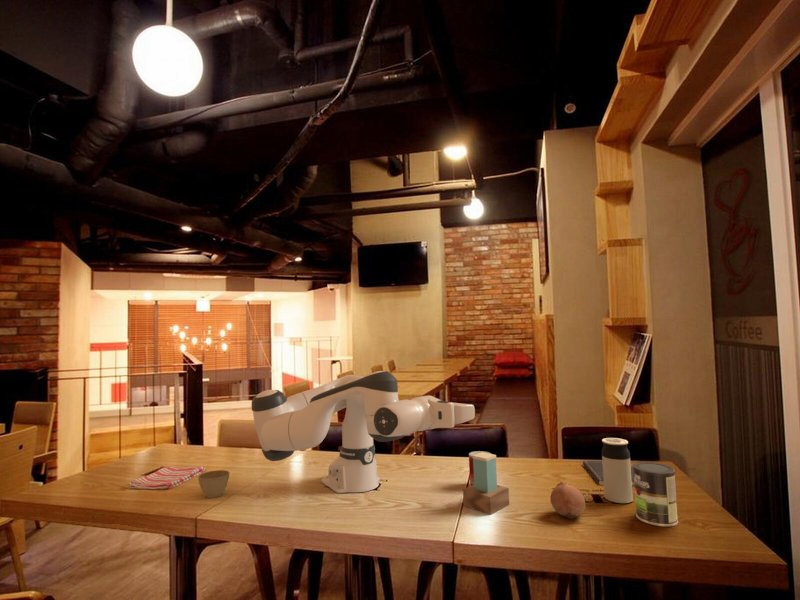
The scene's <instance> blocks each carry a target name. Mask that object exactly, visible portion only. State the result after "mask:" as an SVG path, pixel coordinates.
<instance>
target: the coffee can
mask: <svg viewBox="0 0 800 600" xmlns="http://www.w3.org/2000/svg"><path fill="white" fill-rule="evenodd" d="M632 467H633V469H634V484H635V486H634V496H635V497H634V498H635V516H636V518H637V519H638V520H640V521H641V522H643V523H645V524H648V525H651V526H656V527H661V528H662V527H664V528H665V527H666V528H667V527H668V528H669V527H675V526H677V525H678V524H679V520H678V508H677V507H678V505H677V492H676V491H677V490H676V489H677V488H676V476H675V473H676V470H675V468H674V467H672V466H670V465H667V464H663V463H658V462H650V461H649V462H647V461H640V462H635V463H633V464H632Z"/></svg>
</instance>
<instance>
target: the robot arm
mask: <svg viewBox="0 0 800 600" xmlns="http://www.w3.org/2000/svg"><path fill="white" fill-rule="evenodd" d="M398 388H399V385H398V379H397V378H396V377H395V376H394V375H393V374H392V373H391V372H390V371H388V370H378V371H377V370H376V371H374V372H371V373H369V374H367V375H366V376H364V375H363V376H362V375H357V374H347V375H344V376H340V377H339V378H336V379H334V380H332V381H329V382H328V383H325V384H323V385H319V386H316V387H313V388H311V389H308V390H305V391H301V392H298V393H294V394H293V395H290V396H287V395H285V393H284V392H283V391H281V390H279V389H267V390H263V391H261V392H259V393H258V394H256V395H255V396H253V398H252V400H251V411H252V415H253V422H254V423H253V424H254V428H255V432H256V434H257V437H258V441H259V444H260V446H261V452H262V454H263V456H264V457H265V459H267V460H269V461H271V462H277V461H278V462H279V461H283V460H285V459H288V458H289V457H291V456H292V455H293V454H294V453H295V451H303V450H308V449H313V448H315V447H318V446H319V445H320V444H321V443H322V442H323V440H324V439H325V438H326V436H327V434H328V433H329V430H330V427H331V422H332V421H331V420H332V416H333V415H335V414H336V413H338V412H339V411H341V410H343V409H346V410H345V415H344V419H343V422H342V424H341V436H342V437H341V439H342V441H341V442H342V445H341V446H338V449H337V450H338V451H339V453H338V454H339V455H338V457H336V458H335V459H334V460H333V461H332V462H331V463H330V464H329V466H328V468H327V469H328V470H327V476H324V477H323V478H322V479H321V483H322V484H323V485H325V486H327V487H328V488H329V489H331V490H333V491H334V492H335V493H337V494H342V493H363V492H368V491H372V490H374V489H376V488H378V487H379V485H380V483H379V482H380V480H381V479H380V476H379V475H378V467H377V465H378V464H377V460H376V457H375V455H376V451H375V450H376V448H375V446H376V445H375V443H374V440H375V441H376V442H382V443H384V442H392V441H396V440H399V439H403V438H404V437H405V436H408V435H412V434H414V433H416V432H423V431H427V430H433V429H452V428H454V427H455V425H458V424H459V425H460V424H463V423H466V422H469V421H472V420H474V419H475V417H476V416H475V414H476V409H475V406H474V404H470V403H460V402H459V403H458V402H453V401H451V402H450V401H446V400H443V399H440V398H437V397H434V396H433V395H424V396H423V395H422V396H417V397H413V398H411V399H401V400H400V399H399V389H398Z"/></svg>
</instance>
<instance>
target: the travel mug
mask: <svg viewBox="0 0 800 600" xmlns="http://www.w3.org/2000/svg"><path fill="white" fill-rule="evenodd" d="M601 442H602V443H603V444H602V445H603V447H602V449H601V459H602V460H601V461H602V464H603V479H604V485H603V491H604V492H603V494H604V498H605V499H606V500H608V501H610V502H612V503H615V504H629V503H631V502H633V500H634V497H633V486H632V479H631V466H632V465H631V452H630V450H629V449H628V444H629V441H628V440H627V439H625V438H624V439H623V438H618V437H606V438H602V439H601Z"/></svg>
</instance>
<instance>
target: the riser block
mask: <svg viewBox="0 0 800 600" xmlns="http://www.w3.org/2000/svg"><path fill="white" fill-rule="evenodd" d="M462 498H463V499H462V500H463V507H467V508H469V509H473V510H475V511H478V512H481V513H484V514H487V513H488V514H487V515H491V516H492V515H493V514H495V513H497V512H498V511H501V510H503V509H504V508H506V507H508V506H510V488H509V487H506V486H503V485H498V484H497V489H495V490H493V491H491V492H489V493H487V492H483V491H480V490H476V489H474V485H472V486H471V485H469V486H467V487H465V488H462Z"/></svg>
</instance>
